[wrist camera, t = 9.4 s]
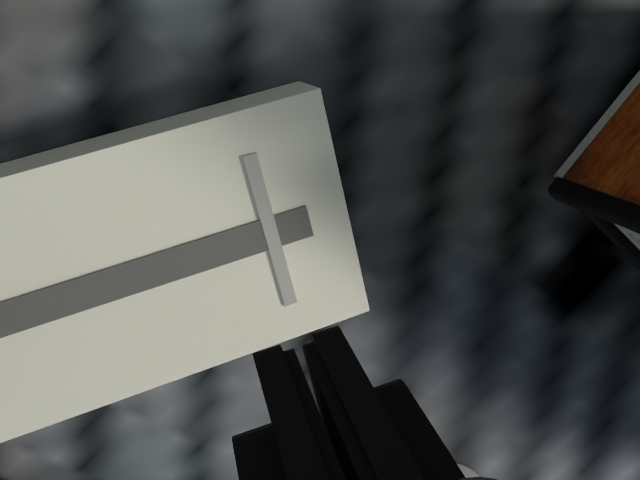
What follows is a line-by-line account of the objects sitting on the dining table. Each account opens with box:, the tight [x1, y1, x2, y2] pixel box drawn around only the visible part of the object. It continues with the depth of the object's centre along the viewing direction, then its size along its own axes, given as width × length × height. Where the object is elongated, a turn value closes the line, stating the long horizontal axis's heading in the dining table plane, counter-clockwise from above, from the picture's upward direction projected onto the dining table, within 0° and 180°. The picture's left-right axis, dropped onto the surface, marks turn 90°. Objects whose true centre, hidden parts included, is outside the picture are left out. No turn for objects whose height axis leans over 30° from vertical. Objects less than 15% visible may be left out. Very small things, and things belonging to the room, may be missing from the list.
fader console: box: [0, 81, 370, 443], centre depth 22 cm, size 9×22×3 cm, turn 103°
